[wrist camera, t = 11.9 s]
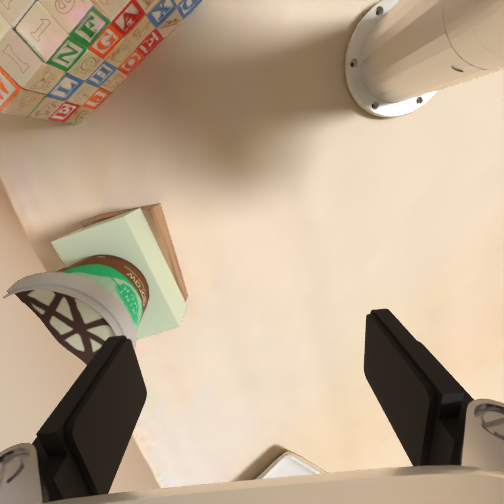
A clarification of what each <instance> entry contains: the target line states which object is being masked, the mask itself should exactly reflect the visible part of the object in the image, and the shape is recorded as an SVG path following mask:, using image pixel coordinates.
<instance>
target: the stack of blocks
mask: <svg viewBox="0 0 504 504" xmlns="http://www.w3.org/2000/svg"><path fill="white" fill-rule="evenodd" d="M201 1H202V0H0V112H1V113H4V114H11V115H19V116H25V117H29V118H37V119H43V120H53V121H61V122H65V123H71V124H80V123H81V122H82V121H83V120H84V119H85V118H86V117H87V116H88V115H89V114H90V113H91V112H92V111H93V110H94V109H96V108H97V107H98V106H99V105H100V104H101V103H102V102H103V101H104V100H105V99H106V98H107V97H108V96H109V95H110V94H111V93H112V92H113V91H114V90H115V89H116V88H117V87H118V86H119V85H120V84H121V83H122V82H123V81H124V80H125V79H126V78H127V77H128V74H129V73H130V72H132V70H133V69H134V68H135V67H136V66H137V65H138V64H139V63H140V62H141V61H142V60H143V59H144V58H145V56H146V55H147V54H148V53H149V52H151V51H152V50H153V49H154V48H155V46H156V45H157V44H158V43H159V42H160V41H161V40H162V39H163V38H166V37H167V36H168V35H169V34H170V33H171V32H172V31H173V30H174V29H175V28H176V27H177V26H178V25H179V24H180V23H181V22H182V20H183V19H184V18H185V17H186V16H187V15H188V14H189V13H190V12H191V11H192V10H193V9H194V8H195V7H196V6H197V5H198V4H199V3H200V2H201Z"/></svg>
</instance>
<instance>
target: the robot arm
mask: <svg viewBox="0 0 504 504" xmlns="http://www.w3.org/2000/svg"><path fill="white" fill-rule="evenodd" d="M376 12H377V13H378V15H376ZM350 63H352V64H353V67H351V65H350ZM503 69H504V0H381V1H380V2H378V3H377V4H376V5H374V6H373V7H372V8H371V9H370V10H369V11H368V12H367V13H366V14H365V16H364V17H363V18H362V19H361V21H360V22H359V23H358V25H357V27H356V28H355V30H354V32H353V34H352V36H351V39H350V41H349V44H348V47H347V52H346V56H345V76H346V82H347V85H348V89H349V91H350V93H351V95H352V97H353V99H354V100H355V101H356V103H357V104H358V105H359V106H360V107H361V108H362V109H364V110H365V111H366V112H368V113H370V114H372V115H374V116H379V117H383V118H392V117H398V116H402V115H405V114H408V113H411V112H413V111H415V110H417V109H419V108H420V107H421V106H423V105H424V104H425V103H427V102H428V101H429V100H430V99H431V98H432V97H433V96H434V95H435V93H436V92H437V91H438V90H441V89H444V88H447V87H451V86H454V85H457V84H460V83H463V82H466V81H469V80H472V79H475V78H479V77H482V76H485V75H488V74H491V73H494V72H497V71H500V70H503ZM416 100H417V103H416ZM372 104H373V105H374V108H372ZM364 373H365V376H366V379H367V381H368V382H369V384H370V386H371V388H372V390H373V392H374V394H375V396H376V397H377V399H378V401H379V403H380V405H381V407H382V409H383V411H384V412H385V414H386V416H387V418H388V420H389V422H390V424H391V425H392V427H393V429H394V431H395V433H396V435H397V437H398V439H399V440H400V442H401V444H402V446H403V448H404V450H405V452H406V453H407V455H408V457H409V459H410V461H411V463H412V465H413V466H411V467H396V468H381V469H368V470H356V471H345V472H334V473H322V474H311V475H299V476H288V477H277V478H266V479H256V480H245V481H234V482H223V483H213V484H202V485H192V486H182V487H172V488H162V489H152V490H143V491H132V492H122V493H114V494H108V492H109V490H110V488H111V485H112V482H113V480H114V478H115V475H116V473H117V470H118V468H119V465H120V463H121V460H122V458H123V455H124V453H125V450H126V448H127V445H128V443H129V440H130V438H131V435H132V433H133V430H134V428H135V426H136V423H137V421H138V418H139V416H140V413H141V411H142V408H143V406H144V403H145V401H146V397H147V390H146V387H145V383H144V380H143V377H142V374H141V370H140V367H139V364H138V361H137V357H136V354H135V351H134V348H133V344H132V341H131V339H127V337H126V336H124V335H121V336H111V337H108V338H107V339H106V341H105V342H104V343H103V345H102V346H101V348H100V349H99V350H98V352H97V353H96V354H95V356H94V357H93V358H92V360H91V361H90V362H89V364H88V365H87V366H86V368H85V369H84V370H83V372H82V373H81V375H80V376H79V377H78V379H77V380H76V381H75V383H74V384H73V385H72V387H71V388H70V389H69V391H68V392H67V393H66V395H65V396H64V397H63V399H62V400H61V401H60V403H59V404H58V406H57V407H56V408H55V410H54V411H53V412H52V414H51V415H50V416H49V418H48V419H47V420H46V422H45V423H44V424H43V426H42V427H41V428H40V430H39V431H38V432H37V438H36V439H35V440H34V442H33V443H32V444H30V443H21V444H17V445H14V446H12V447H9V448H7V449H5V450H3V451H2V452H0V504H504V404H503V403H501V402H498V401H494V400H490V399H477V400H474V399H473V398H472V397H471V396H470V395H469V394H468V393H467V392H466V391H465V390H464V388H463V387H462V386H461V385H460V384H459V383H458V382H457V381H456V380H455V379H454V378H453V377H452V375H451V374H450V373H449V372H448V371H447V370H446V369H445V368H444V367H443V366H442V365H441V364H440V362H439V361H438V360H437V359H436V358H435V357H434V356H433V355H432V354H431V353H430V352H429V351H428V349H427V348H426V347H425V346H424V345H423V344H422V343H420V342H418V341H417V340H416V339H415V338H414V337H413V336H412V335H411V334H410V333H409V331H408V330H407V329H406V328H405V327H404V326H403V325H402V324H401V323H400V322H399V320H398V319H397V318H396V317H395V316H394V315H393V314H392V313H391V312H390V311H389V310H388V309H378V310H372V311H371V312H370V314H368V315H367V316H366V333H365V354H364Z"/></svg>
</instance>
